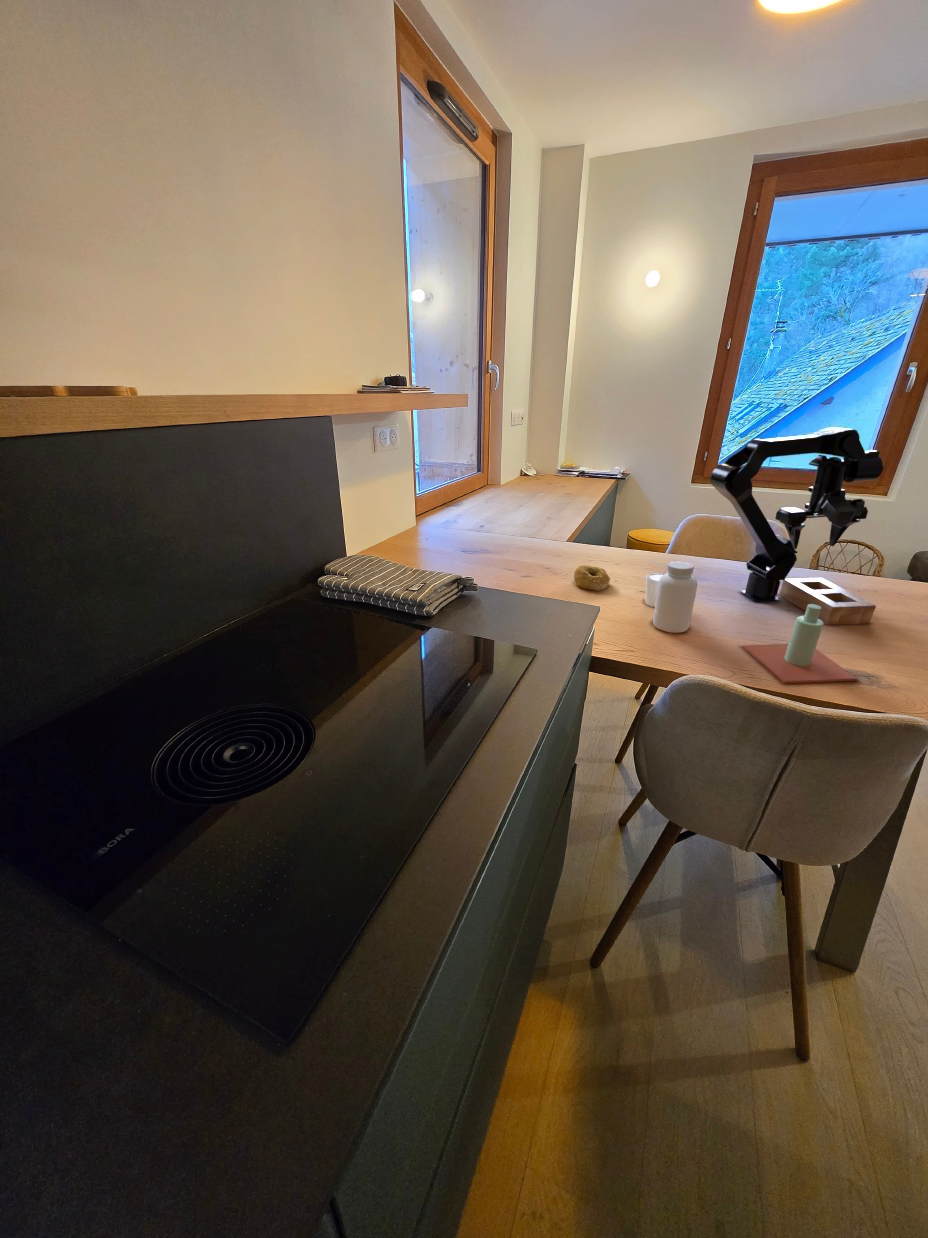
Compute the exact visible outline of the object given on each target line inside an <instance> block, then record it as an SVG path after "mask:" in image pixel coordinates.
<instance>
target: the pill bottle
mask: <svg viewBox="0 0 928 1238" xmlns="http://www.w3.org/2000/svg"><path fill="white" fill-rule="evenodd" d="M694 569H695V567H694V564H692V563H690V562H686V561H679V560H678V561H676V560H675V561H670V562H669V563H667V566H666V573H663V574H664V575H662V576H661V578H660V580H659V585H658V591H657V598H656V604H655V607H654V610H653V611H654V612H653V617H652V624H653V626H654V627H655V628H656V629H658V630H660V631H663V632H667V633H674V634H675V633H676V634H677V633H678V634H679V633H684V632H686V631H688V630H689V628H690V625H691V621H692V615H693V609H694V606H695V605H694V604H695V600H696V596H697V595H696V594H697V590H698V581H697V579H696V578H695V577H694V576H693V574H694Z"/></svg>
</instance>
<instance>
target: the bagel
mask: <svg viewBox="0 0 928 1238" xmlns="http://www.w3.org/2000/svg"><path fill="white" fill-rule="evenodd" d="M573 579H574V580H575V581H574V583H575V582H576V583H575V585H576V586H577V587H580V588H581V589H586V590H591V591H597V592H599V591H602V590H604V589H606V588H607V587H608V586H609V583H610V581H611V577H610V576H609V575H608V573H607V571H606V570H605V569H604V568H602V567H599V566H592V565H586V564H584V565H583V564H582V565H579V566H578V567H577V568H576V569H575V570H574V573H573Z"/></svg>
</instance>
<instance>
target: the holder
mask: <svg viewBox="0 0 928 1238" xmlns="http://www.w3.org/2000/svg"><path fill="white" fill-rule="evenodd" d="M778 596H780V597H782V598H784V599H785V600H787V601H788V602H789V603H791V604H793V605H795V606H796V607H798V608H800V609H801V610H802V611H804V612H806V609H807V606H808V605H809V604H815V605H819V606H821V611H820V614H819V617H818V619H820V620H822V621H823V623H824V624H825V625H828V626H829V625H830V626H831V625H854V624H855V625H857V624H859V625H860V624H861V625H862V624H871V621H872V618H873V616H874V613H875V610H876V608H877V605H876V604H874V603H872V602H870V601H868V600H866V599H864V598H862V597H860V596H858V595H856V594H854V593H852V592H851V591H848V590H847V589H845V588H843V587H841V586H838V585H837V584H835V583H833V582H831V581H829V580H828V579H825V578H823V577H803V578H802V577H799V578H785V579H784V580H782V583H781V588H780V590H779V594H778Z"/></svg>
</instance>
